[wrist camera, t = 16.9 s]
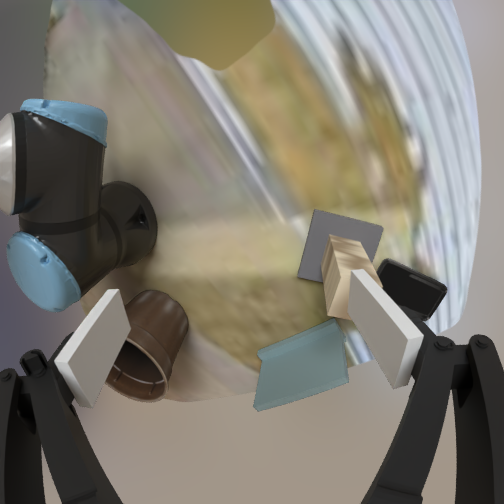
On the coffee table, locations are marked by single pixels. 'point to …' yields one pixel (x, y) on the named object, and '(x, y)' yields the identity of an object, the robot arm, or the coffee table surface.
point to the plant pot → (148, 347)
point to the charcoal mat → (338, 227)
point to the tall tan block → (342, 272)
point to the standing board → (302, 366)
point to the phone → (411, 288)
